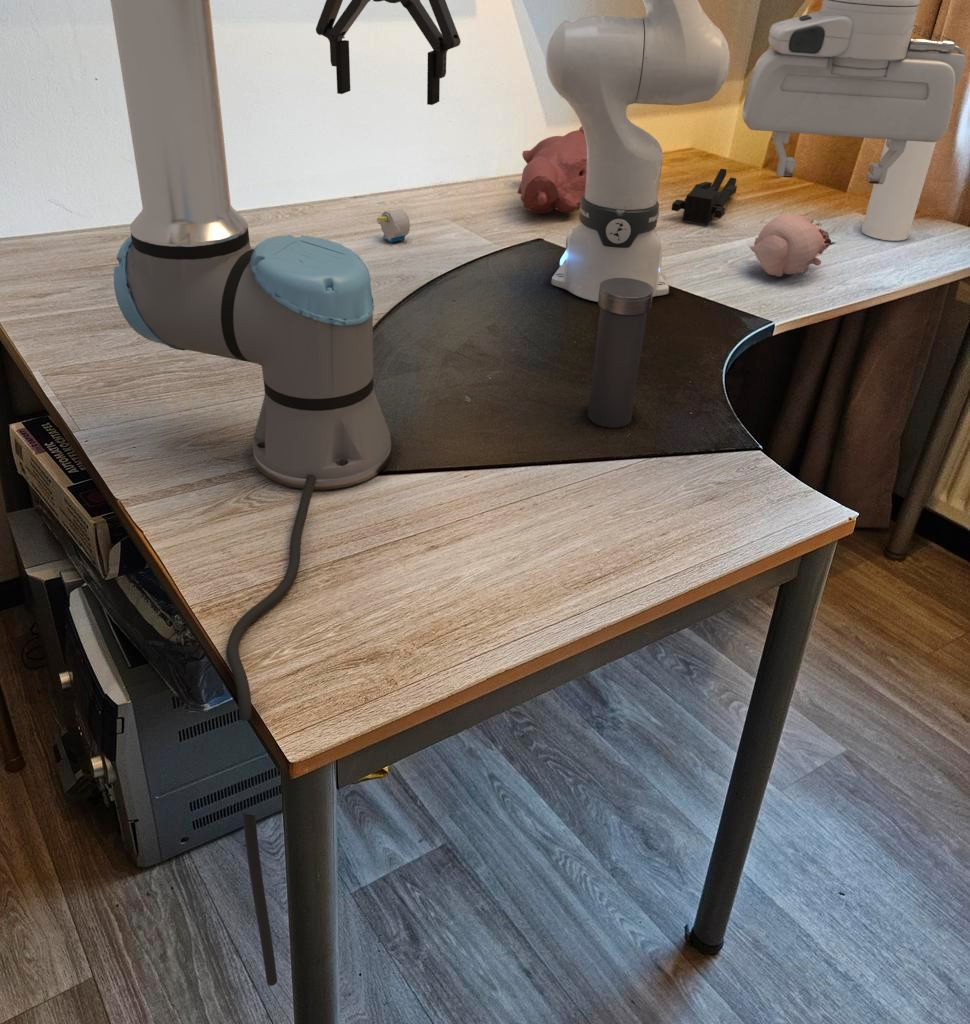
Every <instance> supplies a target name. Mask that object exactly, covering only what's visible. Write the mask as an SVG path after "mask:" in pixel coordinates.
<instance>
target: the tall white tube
mask: <svg viewBox="0 0 970 1024" xmlns="http://www.w3.org/2000/svg"><path fill="white" fill-rule="evenodd" d="M921 31H922V27H920V26H918V25H915V24H914V28H913V30H912V32H913V34H915V33H916V34H917V35H918V36H921V37H923V38H924V37H925V39H928V40H932V39H935V41H941V40H940V39H945V40H950V41H954V42H955V43H956V40H954V39H951V38H948V37H946V36H942V37H941V34H938V35H937V33H934V32H933V31H931V30H926V29H923V34H921ZM927 33H928V35H927ZM940 37H941V38H940ZM886 142H887V139H884V145H883V148H882V151H881V155H880V159H879V161H880V160H881V159H882V157H883V156H884V155H885V154H886V152H887V151H888V150H889V148H888V147H887V146H886ZM936 145H937V142H920V141H907V142H906V146H905V149H904V152H903V153H902V154H901V155H900V157H899V158H898V159H897V160H896V161H895V162H894V163H893V164H892V165H891V166H890V168H888V170H887V174H886V177H885V181H884V183H883V184H872V189H871V193H870V196H869V201H868V203H867V208H866V212H865V215H864V220H863V222H862V227H861V232H862V233H863V234H864V235H866V236H868V237H871V238H873V239H878V240H884V241H893V242H895V241H897V242H898V241H899V242H900V241H905V240H907V239H909V236H910V233H911V229H912V226H913V222H914V219H915V215H916V211H917V210H918V209H917V208H918V206H919V202H920V198H921V195H922V191H923V188H924V184H925V182H926V178H927V175H928V171H929V169H930V165H931V161H932V158H933V155H934V151H935V148H936Z"/></svg>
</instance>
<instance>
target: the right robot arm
mask: <svg viewBox="0 0 970 1024" xmlns="http://www.w3.org/2000/svg"><path fill="white" fill-rule="evenodd" d="M641 1H642V2H643V5H644V7H645V16H644V17H643V16H642V17H627V16H626V17H625V16H607V15H592V16H585V17H584V16H583V17H578V18H574V19H568V20H564V21H562V22H561V23H560V24H559V25H558V26H557V27H556V29H555V31H554V32H553V33H552V35H551V37H550V39H549V42H548V45H547V47H546V52H545V68H546V74H547V77H548V79H549V82H550V84H551V86H552V87H553V89H554V90H555V91H556V93H557V94H558V95H560V96H561V97H562V98H563V99H564V100H565V101H566V102H567V103H568V104H569V106H570V107H571V108H572V109H573V111H574V113H575V114H576V116H577V118H578V120H579V122H580V124H581V125H580V126H581V127H583V130H584V134H585V139H586V145H587V171H586V185H585V194H584V195H583V196H582V199H581V204H580V207H579V208H578V210H579V215H578V221H579V223H578V225H577V226H576V227H575V228H573V230H572V231H571V232H570V233H568V234H567V235H566V239H565V248H566V249H565V251H564V253H563V254H562V256H561V258H560V260H559V267H558V269H556V271H555V272H554V274H553V275H552V276H551V279H550V284H551V285H552V286H555V287H557V288H561V289H562V290H563V289H564V290H566V291H567V292H569V293H570V294H573V296H576V297H578V298H581V299H584V300H588V301H590V302H591V301H592V302H596V303H598V297H599V289H600V284H601V282H603V281H604V280H607V279H612V278H630V279H636V280H640V281H643V282H645V283H648V284H649V285H651V286H652V287H653V290H654V291H653V298H654V297H660V296H665V295H668V294H669V293H670V286H669V284H668V283H667V281H666V280H665V278H664V276H662V274H661V269H662V268H661V267H662V259H663V252H664V241H663V240H662V238H661V236H660V235H658V233H657V231H656V229H655V228H656V227H657V224H658V219H659V215H660V212H659V211H660V210H659V208H660V203H659V201H658V196H659V190H660V189H659V188H660V183H661V176H662V168H663V163H664V162H663V160H664V155H663V154H664V153H663V150H662V149H663V148H662V146H661V144H660V142H659V141H658V140H657V139H656V138H655V137H654V136H653V135H652V134H651V133H649V132H647V131H646V130H644V129H643V128H641V127H640V126H638V125H636V124H635V123H633V122H631V120H629V118H628V116H627V109H628V106H630V105H633V104H638V105H659V106H684V105H692V104H693V105H694V104H698V103H703V102H708V101H711V100H712V99H713V98H714V97H715V96H717V94H718V93H719V91H721V89H722V87H723V86H724V84H725V82H726V79H727V77H728V74H729V71H730V66H731V65H730V64H731V54H730V47H729V43H728V41H727V39H726V37H725V35H724V33H723V31H721V29H720V28H719V27H718V26H717V25H716V24H715V23H714V22H713V21H712V20H711V19H710V18H709V16H708V15H707V14H706V12H705V11H704V9H703V7H702V6H701V3H700V2H699V0H641ZM920 3H921V0H822V4H821V9H820V10H817V11H815V12H810V13H807V14H803V15H800V16H796V17H792V18H788V19H783V20H780V21H777V22H774V23H773V24H771V26H770V28H769V32H768V44H769V46H770V47H771V48H769V49H767V50H765V52H763V53H762V54H761V55H760V56H759V58H758V59H757V61H756V63H755V65H754V67H753V70H752V72H751V76H750V79H749V83H748V86H747V90H746V93H745V97H744V102H743V106H742V112H741V118H742V120H743V123H744V124H745V125H746V126H747V127H748V129H749V130H752V131H762V132H772V138H771V140H772V143H773V145H774V147H775V151H776V154H777V157H778V162H777V165H776V166H777V167H776V172H775V173H776V174H775V175H776V176H777V177H778V178H793V176H794V169H795V167H796V164H797V163H796V160H795V158H794V157H791V156H788V155H787V153H786V149H785V146H784V144H788V143H789V142H790V138H791V134H805V135H819V136H833V137H835V136H836V137H848V138H850V137H851V138H863V139H877V140H886V139H887V142H886V146H887V147H888V148H889V150H888V151H887V152H886V154H885V155H884V156H883V157H882V159H881V158H880V159H881V160H880V159H879V161H878V162H870V163H869V166H868V172H867V174H866V180H865V181H866V182H867V183H868V184H872V185H874V184H883V183H884V181H885V177H886V174H887V170H888V168H890V166H891V165H892V164H893V163H894V162H895V161H896V160H897V159H898V158H899V157H900V155H901V154H902V153H903V152H904V149H905V146H906V142H907V141H920V142H936V143H937V142H938V141H939V140H940V139H942V137H944V135H946V133H947V132H948V129H949V124H950V121H951V117H952V115H951V114H952V112H953V104H954V99H955V90H956V87H957V86H958V85H959V83H960V81H961V79H962V78H963V74H964V70H965V67H966V62H967V57H966V53H965V51H964V49H963V48H962V47H960V46H959V45H957V43H956V41H955V40H953V41H952V40H951V41H950V40H948V39H941V40H937V41H936V39H931V40H930V39H928V38H920V37H919V38H917V37H912V34H913V31H914V28H915V26H914V25H915V22H916V18H917V15H918V11H919V7H920ZM912 30H913V31H912ZM954 41H955V42H954ZM954 51H956V52H957V53H956V52H954Z"/></svg>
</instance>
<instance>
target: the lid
mask: <svg viewBox="0 0 970 1024" xmlns="http://www.w3.org/2000/svg"><path fill="white" fill-rule="evenodd" d="M653 291H654V290H653V287H652V286H651V285H649V284H648V283H645V282H643V281H640V280H636V279H630V278H612V279H607V280H604V281H603V282H601V284H600V289H599V297H598V302H597V304H598V306H599V308H602V309H604V310H606V311H608V312H611V313H615V314H620V315H640V314H644V313H647V314H648V312H650V311H651V310H652V303H653V298H654V297H653Z"/></svg>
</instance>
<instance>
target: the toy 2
mask: <svg viewBox="0 0 970 1024" xmlns="http://www.w3.org/2000/svg"><path fill="white" fill-rule="evenodd" d="M753 243H754V244H753V245H749V249H750V250H751V251H752V252H753V253H754V254H755V257H756V258H757V260H758V262H759V263H760V266H761V269H763V270H764V272H765V273H767V274H768V275H771V276H775V277H782V276H784V274H786V275H790V274H792V275H793V274H794V275H798V276H799V274H800V273H802V275H803V274H806V273H808V271H809V270H810V269H809V267H810V266H811V265H814V266H817V267H818V266H820V265H821V264H822V260H820V258H818V257H819V256H821V255H822V254H823V253H824V251H826V250H827V249H828V248H829V247H830V246H832V245H835V244H836V242H832V239H831V238H830V233H829V230H828V229H824V228H823V225H822V223H820V221H818V220H817V219H812V220H811V221H810V220H809V219H807V218H805V217H804V216H801V215H799V214H792V213H786V214H780V215H779V216H776V217H774V218H773V219H771V220H770V221H768V222H767V223H766V224H765V225H764V226H763V227H762V229H761V231H760V232H759V234H758V235H757V237H755V239H754V242H753Z"/></svg>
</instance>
